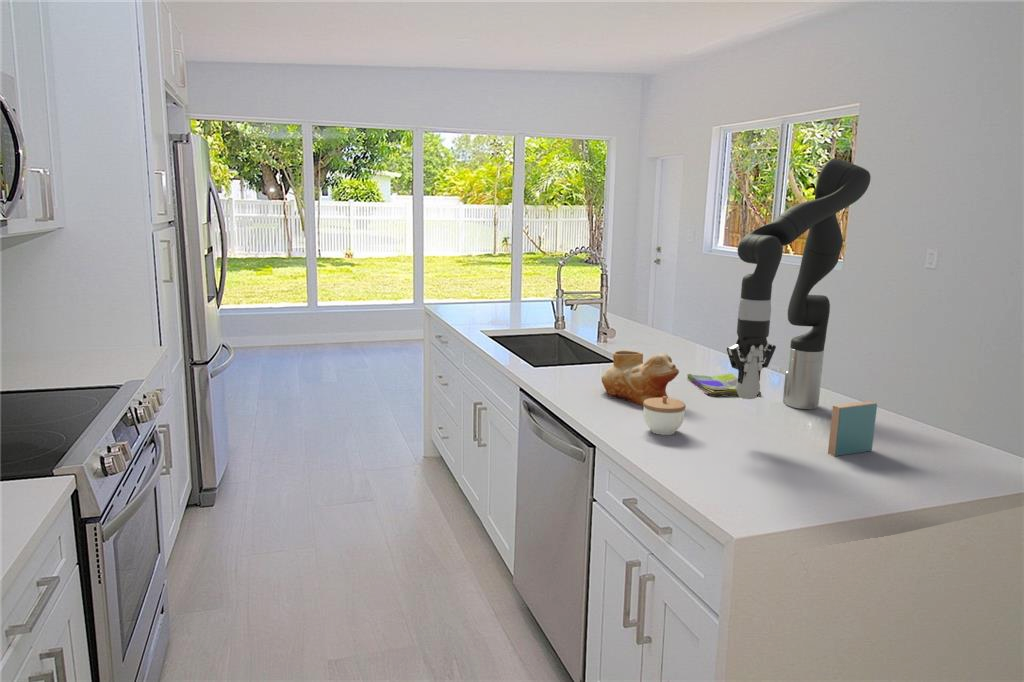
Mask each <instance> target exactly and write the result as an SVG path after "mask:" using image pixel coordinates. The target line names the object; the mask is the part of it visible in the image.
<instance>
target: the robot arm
mask: <svg viewBox="0 0 1024 682" xmlns="http://www.w3.org/2000/svg"><path fill="white" fill-rule="evenodd" d="M871 179H872V178H871V173H870V171H868V169H866V168H864V167H862V166H860V165H857V164H854V163H851V162H849V161H846V160H843V159H840V158H836V157H833V158H831V159H829V160H827V161H826V162H825V164H824V165H823V166H822V168H821V169H820V171H819V175H818V177H817V179H816V180H817V182H816V187H815V193H814V199H812V200H808V201H803V202H800V203H798V204H794V205H792V206H790V207H789V208H787V209H786V210H785V211H783V212H782V213H781V214H779V215H778V216H777V217H776V218H775V219H773V220H772V221H770V222H769V223H766V224H764V225H761V226H760V227H757V228H756V229H753V230H752V231H750V232H748V233H747V234H746V235H745V236H744V237H742V238H741V240H740V242H739V243H738V247H737V255H738V257H739V259H740V260H741V261H743V262H745V263H747V264H752V265H753V264H754V265H756V266H755V269H754V272H753V273H748V274H746V275H744V276H742V277H743V278H742V280H741V290H740V291H741V292H740V300H739V304H738V310H737V311H738V312H737V313H738V314H737V325H736V334H737V340H736V342H735V344H734V345H732V346H727V348H726V352H727V355H728V358H729V362H730V366H731V368H732V369H735V370H737V371H738V372H737V373H738V375H737V378H738V383H741V384H742V382H743V377H744V372H745V377H746V373H747V370H748V366H749V363H751V359H752V352H754V349H755V347H757V348H758V349H759V351H760V355H759V356H758V357H757V362H758V373H759V382H760V381H761V372H762V370H763V369H765V368H766V369H767V368H768V366H769V365H770V363H771V361H772V358H773V355H774V354H775V351H776V348H777V346H776V345H775V344H771V343H769V342H768V340H767V338H768V337H769V335H770V326H771V315H772V314H771V312H772V304H771V303H772V290H773V282H774V279H775V277H776V274H777V271H778V269H779V266H780V264H781V260H782V257H783V247H784V246H787V245H790V244H792V243H794V242H795V241H796V240H797V239H798V238H799V237H801V236H802V235H803V234H804V233H806V232H807V231H808V233H807V237H806V240H805V242H804V243H805V244H804V247H803V252H802V257H801V261H800V262H801V263H800V266H799V271H798V276H797V279H796V281H795V285H794V287H793V289H792V294H791V296H790V299H789V303H788V307H787V321H788V323H789V324H790V325H792V326H798V327H811V330H809V331H808V332H805V333H804V334H800V335H797V336H794V337H792V339H791V340H790V346H789V347H790V348H789V358H788V369H787V371H785V374H784V385H783V397H782V403H784V404H785V405H786V406H788V407H791V408H796V409H801V410H815V409H818V408H819V403H820V402H819V401H820V392H821V384H822V373H823V363H824V354H825V344H826V339H827V332H828V331H827V330H828V324H829V319H830V313H831V312H830V311H831V303H830V300H829V298H828V297H827V296H826V295H822V294H809V293H811V291H812V289H813V288H814V287H815V285H817V284H818V283H819V282H821V281H822V280H823V279H824V278H825V277H826V276H827V275H829V274H830V273H831V272H832V270H834V269H835V267H836V266H837V264H838V262H839V260H840V256H841V251H842V248H843V246H844V245H843V244H844V238H843V234H842V230H841V227H840V223H839V220H838V217H837V213H838V212H840V211H842V210H844V209H846V208H847V207H849V206H851V205H853V204H854V203H856V202H857V201H859V200H860V199H861V198H863V196H864V194H865V193H866V192H867V190H868V188H869V186H870V183H871ZM750 354H751V355H750ZM744 357H746V359H745V358H744ZM743 362H744V365H743ZM742 365H743V366H742ZM740 380H741V381H740Z"/></svg>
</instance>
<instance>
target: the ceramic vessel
mask: <svg viewBox="0 0 1024 682" xmlns="http://www.w3.org/2000/svg"><path fill="white" fill-rule="evenodd" d="M643 358H644V354H643V352H640V351H635V350H615V351H613V354H612V359H613V361H612V363H613V365H612V366H609V367H608V368H607V369H606V371H605V372H604V374H602V376H601V383H602V385H603V387H604V389H605V391H606V393H607V395H608V396H609V395H610V397H612V398H615V397H616V398H617V399H619V400H624V401H627V402H631V403H634V404H636V405H640V406H641V407H644V406H643V402H644V401H645V400H646V399H649V398H663V396H666V397H667V398H669V396H668V394H667V390H666V389H667V386H668V384H669V383H670V382H671V381H673V380H675V378H677V376H678V375H679V373H680V370H679V369H678V368H677V367H676V365H675V364H674V363H673V361H672V360H673V359H672V357H671V356H670V355H668V353H658V354H654V355H651V356H650V357H649V358H648V359H647V360H646V361H645V362H644V359H643ZM616 398H615V399H616Z"/></svg>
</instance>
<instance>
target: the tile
mask: <svg viewBox="0 0 1024 682" xmlns="http://www.w3.org/2000/svg"><path fill="white" fill-rule="evenodd" d="M877 408H878V404H877V402H874V401H872V400H870V401H869V400H868V401H859V402H852V403H844V404H834V405H832V410H831V418H830V419H831V420H830V429H829V437H828V438H829V439H828V450H827V454H828V455H830V454H831V455H830V456H832V455H833V457H838V456H839V455H840V456H844V455H845V454H846V455H852V454H858V452H859V453H863V452H870V451H873V443H874V436H875V435H874V434H875V428H876V427H875V426H876V419H877ZM851 453H852V454H851ZM846 455H845V456H846Z"/></svg>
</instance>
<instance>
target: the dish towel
mask: <svg viewBox="0 0 1024 682" xmlns="http://www.w3.org/2000/svg"><path fill="white" fill-rule="evenodd" d="M687 379H688V380H689V382H690V383H692V384H693V385H694V386H695V387H696V386H697V387H698V388H699V389H698V388H697V387H696V388H697V389H698V390H699V391H701V390H702V391H703V392H704V393H703V392H702V391H701V392H702V393H703V394H705V393H706V394H705V395H706V396H711V395H738V393H737V391H736V384H737V380H738V377H736V376H735V374H733V373H727V374H720V375H714V376H713V375H712V376H708V375H697V374H691V373H687ZM727 381H728V382H727ZM758 395H760V396H762V391H759V393H758Z"/></svg>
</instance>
